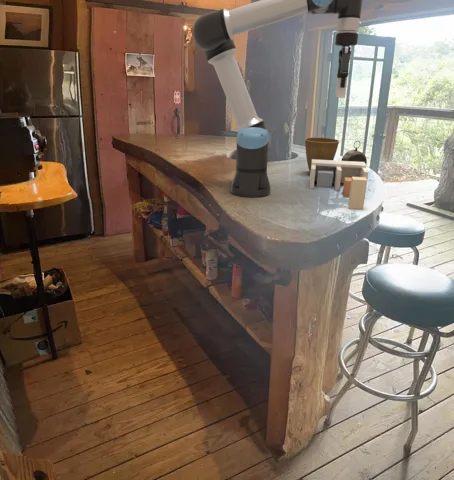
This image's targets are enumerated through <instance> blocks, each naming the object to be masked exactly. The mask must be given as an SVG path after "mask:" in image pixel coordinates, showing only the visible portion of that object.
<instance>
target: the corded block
mask: <svg viewBox="0 0 454 480" xmlns="http://www.w3.org/2000/svg"><path fill="white" fill-rule="evenodd" d="M367 185H368V180H367V179H366V177H352V178H346V177H344V183H343V186H342V196H343V197H347V198H348V204H347V206H348V209H350V208H352V210H353V209H354V210H364V204H365V199H366V192H367Z"/></svg>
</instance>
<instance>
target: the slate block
mask: <svg viewBox="0 0 454 480" xmlns="http://www.w3.org/2000/svg"><path fill="white" fill-rule="evenodd" d="M332 181H333V170H318V174H317V181H316V183H317V184H316V187H317V188H328V187H329V188H332V187H333V182H332Z"/></svg>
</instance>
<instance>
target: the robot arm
mask: <svg viewBox="0 0 454 480" xmlns="http://www.w3.org/2000/svg"><path fill="white" fill-rule="evenodd" d="M362 5H363V0H258V1H254V2H251V3H248V4H245V5H242V6H239V7H236V8H233V9H230V10H228V9H227V8H225V7H224V8H222V9H218V10H215V11H211V12H207V13H203V14H202V15H200V16H199V17H198V18H197V19H196V20H195V22H194V23H193V25H192V26H193V27H192V37H193V41H194V43H195V44H196V45H197V46H198V48H200V49H201V50H202V51H203V53H204V56H205V58H206V60H207V63H208V64H210V65H212V66H213V67H214V70H215V73H216V74H217V77H218V80H219V82H220V85H221V87H222V90H223V92H224V95H225V98H226V100H227V102H228V105H229V108H230V110H231V112H232V115H233V118H234V121H235V123H236V126H237V127H236V129H235V132H236V133H235V134H236V139H235V142H236V156H235V157H236V159H235V160H236V161H235V173H234V176H233V179H232V182H231V185H230V193H231V194H232V195H235V196H239V197H244V198H260V197H261V198H262V197H266V196H268V195H270V194H271V184H270V181H269V177H268V159H269V152H270V151H271V148H272V145H273V140H272V139H273V138H272V135H271V134H270V131H268V129H267V126H266V123H265V122H264V119H262V118H260V117H259V115H258V113H257V112H256V109H255V106H254V103H253V100H252V99H251V96H250V93H249V90H248V87H247V86H246V85H247V84H246V83H245V80H244V77H243V74H242V73H241V70H240V69H241V68H240V67H239V64H238V61H237V59H236V55H235V54H236V53H237V46H236V45H235V42H234V40H233V38H235V36H238V35H240V34H243V33H246V32H249V31H252V30H256V29H260V28H262V27H265V26H266V27H267V26H269V25H272V24H275V23H279V22H281V21H284V20H288V19H292V18H293V17H297V16H300V15H303V14H308V15H313V16H314V15H319V14H320V15H325V14H327V15H329V14H330V15H332V14H334V15H336V14H337V21H336V31H335V32H337V33H336V34H335V39H334V40H335V42H334V45H335V46H338V47H339V46H340V47H341V49H340V50H339V51H338V70H337V74H336V76H337V78H336V85H335V86H336V87H335V92H334V93H335V94H334V97H336V99H337V98H339V99H343V98H344V99H345V98H346V93H347V83H348V76H349V74H350V73H349V67H350V61H351V54H352V51H351V48H352V47H353V46H356V45H357V44H358V37H359V34H358V32H359V29H360V26H361V25H362V22H361V13H362V7H363V6H362Z"/></svg>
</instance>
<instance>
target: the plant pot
mask: <svg viewBox="0 0 454 480" xmlns="http://www.w3.org/2000/svg"><path fill="white" fill-rule="evenodd" d="M304 142H305V143H304V144H305V145H304V146H305V155H306V156H305V157H306V163H307V167H308V171H309V172H308V173H309V174H310V173H311V163H312V159H317V160H334V159H335V157H336V153H337V151H338V147H339V143H340V140H339V139H335V138H330V137H316V136H315V137H307V138H304Z"/></svg>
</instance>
